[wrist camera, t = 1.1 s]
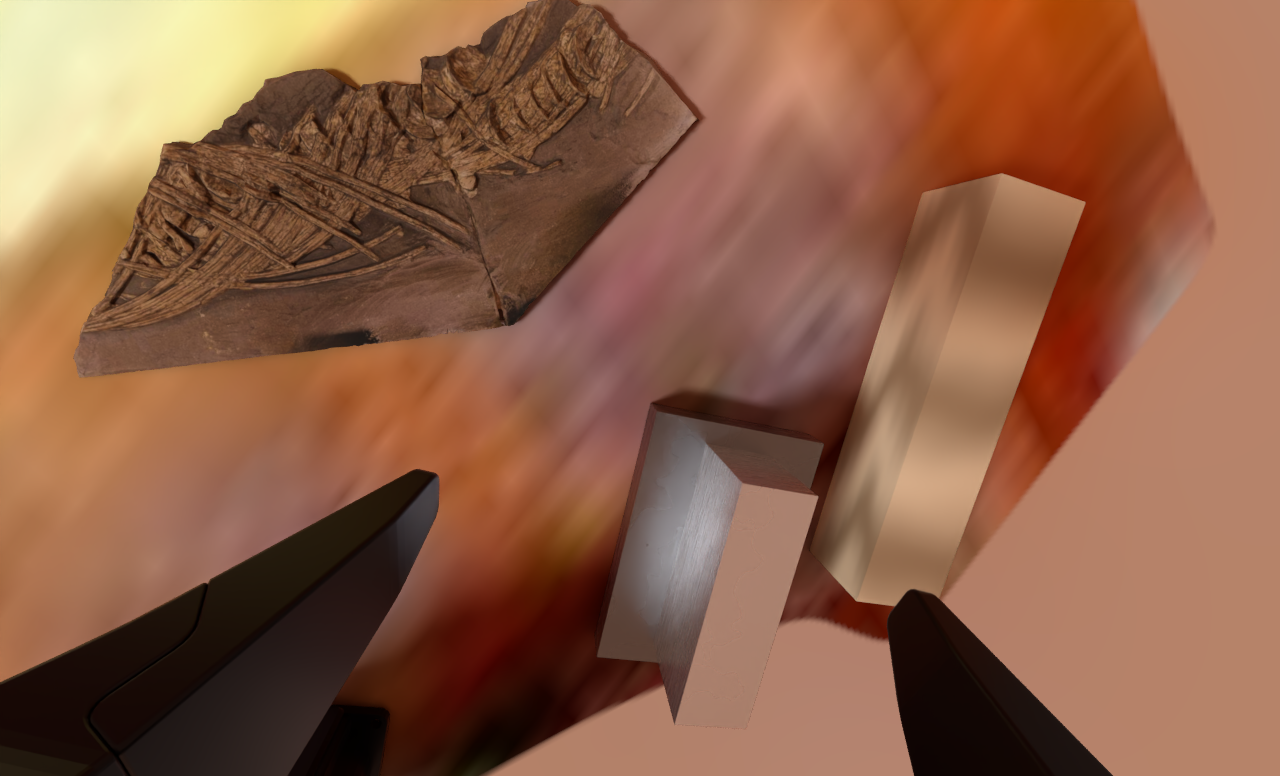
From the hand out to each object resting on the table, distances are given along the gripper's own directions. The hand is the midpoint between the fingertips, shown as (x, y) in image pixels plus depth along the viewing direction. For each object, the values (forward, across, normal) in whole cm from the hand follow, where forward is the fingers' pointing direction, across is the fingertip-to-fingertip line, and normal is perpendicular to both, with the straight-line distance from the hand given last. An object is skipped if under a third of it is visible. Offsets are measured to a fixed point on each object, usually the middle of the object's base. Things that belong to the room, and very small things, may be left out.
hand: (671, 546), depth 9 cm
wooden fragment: (+13, +12, 0) cm, 18 cm away
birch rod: (+16, -11, +3) cm, 20 cm away
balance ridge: (+11, -4, +11) cm, 16 cm away
